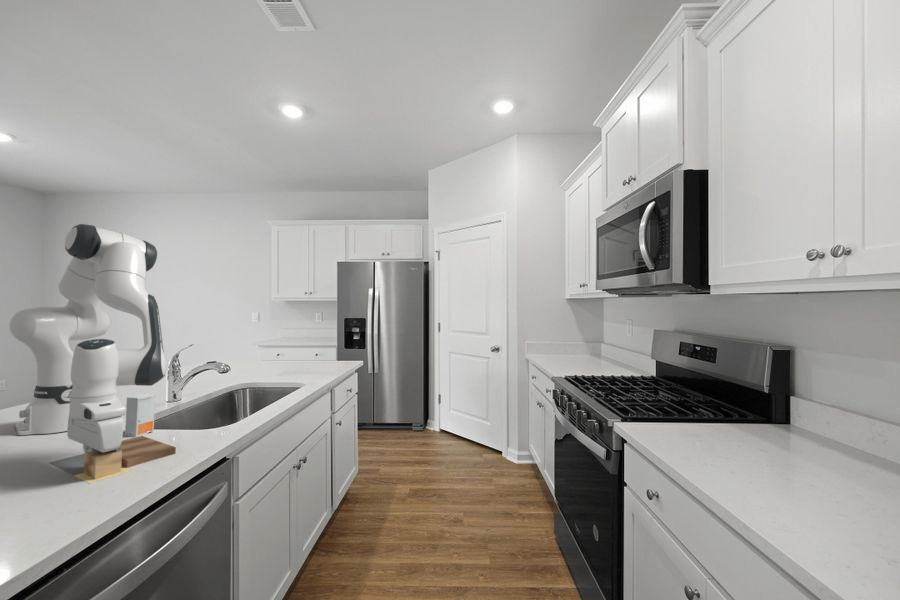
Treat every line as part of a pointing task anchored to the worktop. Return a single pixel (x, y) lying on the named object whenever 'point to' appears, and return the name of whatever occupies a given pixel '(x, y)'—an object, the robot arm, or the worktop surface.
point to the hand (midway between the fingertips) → (92, 462)
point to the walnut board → (143, 450)
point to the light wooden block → (102, 463)
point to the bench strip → (80, 468)
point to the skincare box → (140, 414)
